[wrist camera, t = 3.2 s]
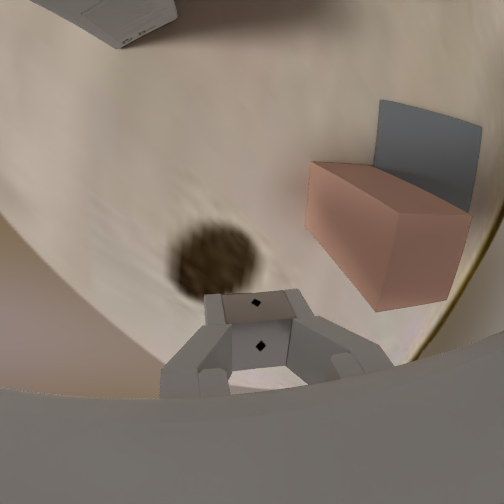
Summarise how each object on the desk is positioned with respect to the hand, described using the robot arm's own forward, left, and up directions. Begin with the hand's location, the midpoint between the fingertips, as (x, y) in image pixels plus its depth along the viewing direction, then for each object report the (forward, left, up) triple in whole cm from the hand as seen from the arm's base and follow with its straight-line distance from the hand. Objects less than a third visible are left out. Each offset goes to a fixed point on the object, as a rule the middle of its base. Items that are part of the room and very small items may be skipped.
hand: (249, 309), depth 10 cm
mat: (-1, +16, -11) cm, 20 cm away
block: (-1, +8, -11) cm, 14 cm away
